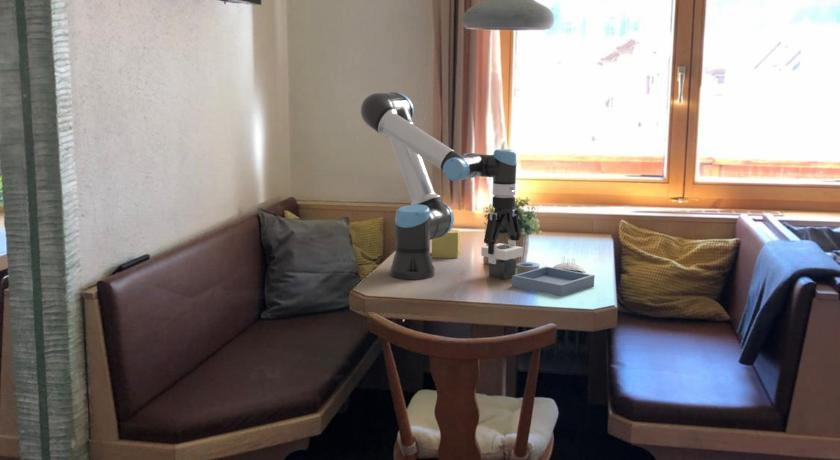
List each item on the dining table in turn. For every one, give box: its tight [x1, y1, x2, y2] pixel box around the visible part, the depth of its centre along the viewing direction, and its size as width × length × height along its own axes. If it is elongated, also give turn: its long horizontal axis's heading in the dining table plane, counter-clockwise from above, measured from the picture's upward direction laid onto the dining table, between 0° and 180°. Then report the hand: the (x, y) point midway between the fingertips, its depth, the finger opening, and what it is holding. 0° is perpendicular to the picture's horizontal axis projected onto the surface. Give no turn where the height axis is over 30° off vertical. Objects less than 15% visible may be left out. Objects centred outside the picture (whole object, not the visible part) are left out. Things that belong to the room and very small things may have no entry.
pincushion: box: [552, 255, 586, 272], centre depth 302 cm, size 12×6×6 cm, turn 73°
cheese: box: [431, 228, 461, 259], centre depth 326 cm, size 10×11×10 cm
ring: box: [480, 242, 524, 260], centre depth 292 cm, size 10×12×3 cm
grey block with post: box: [488, 243, 517, 281], centre depth 292 cm, size 6×6×11 cm
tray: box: [511, 266, 596, 297], centre depth 280 cm, size 19×19×4 cm
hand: (502, 261), depth 292 cm, fingers closed on ring, 10 cm apart
